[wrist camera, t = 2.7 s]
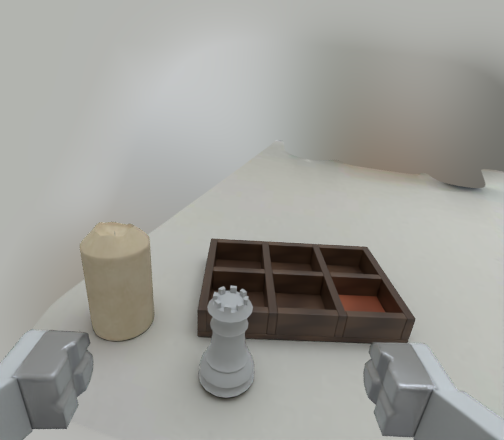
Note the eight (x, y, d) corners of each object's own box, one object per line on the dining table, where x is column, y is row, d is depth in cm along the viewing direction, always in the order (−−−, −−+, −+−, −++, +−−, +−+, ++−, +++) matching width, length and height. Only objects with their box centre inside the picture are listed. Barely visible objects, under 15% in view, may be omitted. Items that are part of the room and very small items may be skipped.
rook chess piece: (212, 349, 30) (214, 272, 27) (260, 364, 29) (269, 286, 25) (188, 390, 26) (187, 306, 23) (243, 410, 25) (250, 324, 21)
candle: (159, 302, 35) (154, 214, 31) (146, 342, 30) (139, 243, 26) (104, 301, 35) (92, 211, 30) (82, 341, 30) (64, 240, 25)
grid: (197, 336, 31) (197, 309, 30) (210, 259, 43) (211, 238, 42) (407, 344, 32) (415, 319, 31) (362, 267, 44) (367, 246, 43)
